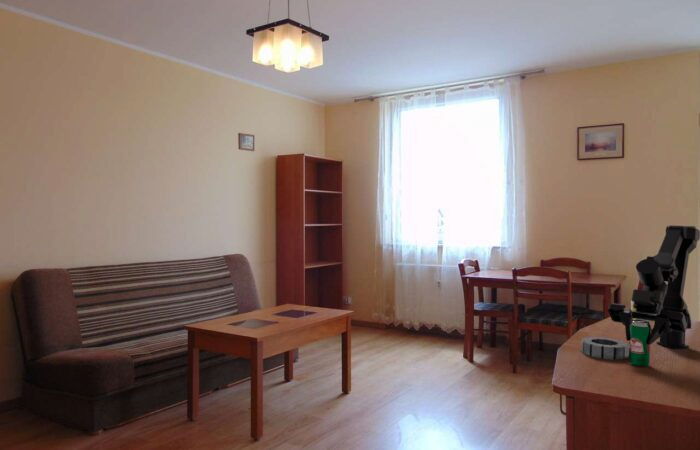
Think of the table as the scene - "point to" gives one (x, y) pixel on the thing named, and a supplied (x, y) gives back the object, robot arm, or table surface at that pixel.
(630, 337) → the soda can
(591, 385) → the table surface
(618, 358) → the ring
